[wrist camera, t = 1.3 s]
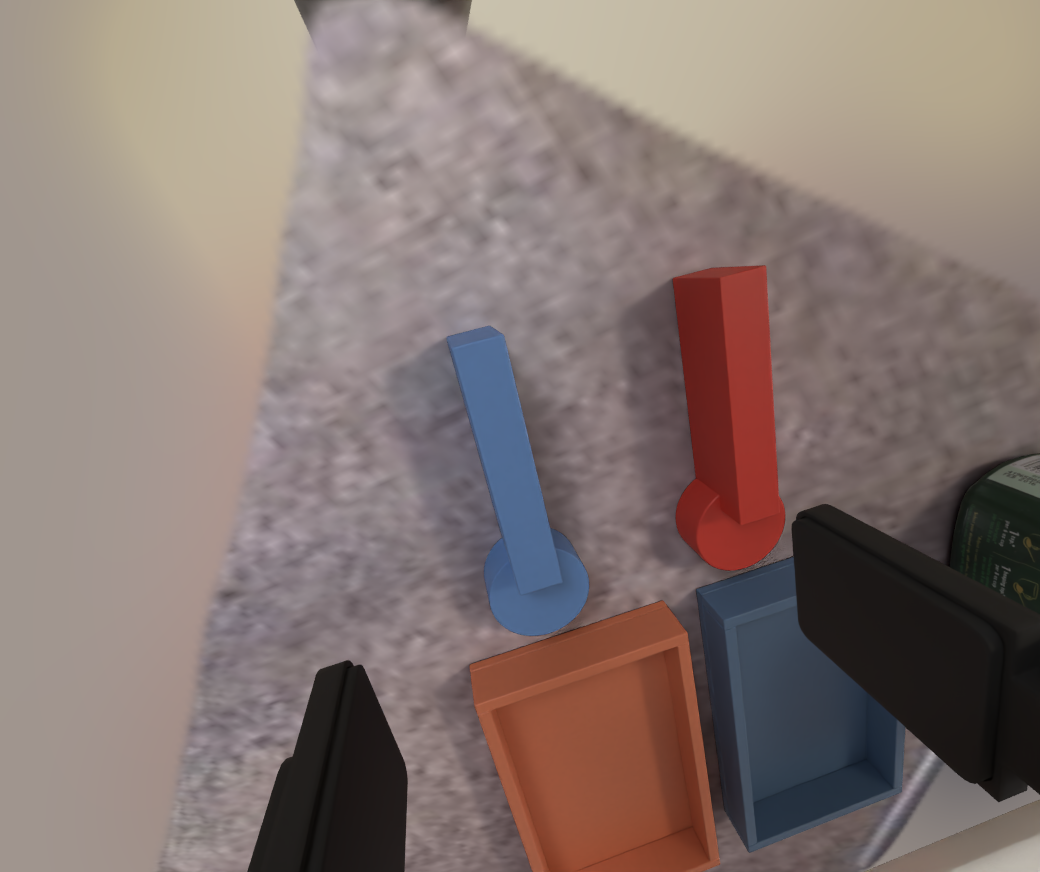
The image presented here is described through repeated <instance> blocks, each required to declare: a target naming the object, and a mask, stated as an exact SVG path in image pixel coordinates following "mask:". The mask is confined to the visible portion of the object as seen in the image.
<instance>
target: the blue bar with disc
mask: <svg viewBox="0 0 1040 872" xmlns="http://www.w3.org/2000/svg"><path fill="white" fill-rule="evenodd" d="M446 339H447V343H448V346H449V350H450V353H451V357H452V360H453V364H454V368H455V371H456V375H457V378H458V382H459V385H460V389H461V393H462V396H463V400H464V403H465V407H466V410H467V414H468V418H469V421H470V425H471V428H472V432H473V435H474V439H475V443H476V446H477V450H478V453H479V457H480V460H481V464H482V467H483V471H484V475H485V478H486V482H487V485H488V489H489V492H490V496H491V500H492V503H493V507H494V510H495V514H496V517H497V521H498V525H499V528H500V532H501V535H502V538H501V539H500V540H499V541H498V542H497V543H496V544H495V545H494V546H493V548H492V549H491V551H490V552H489V554H488V556H487V559H486V562H485V566H484V579H485V584H486V588H487V593H488V598H489V603H490V607H491V610H492V613H493V615H494V617H495V618H496V619H497V621H498V622H499V623H500V624H501V625H502V626H503V627H505V628H506V629H508V630H510V631H512V632H514V633H517V634H520V635H526V636H539V635H545V634H548V633H552V632H554V631H557V630H559V629H561V628H562V627H564V626H566V625H567V624H568V623H570V622H571V621H572V620H573V619H574V618H575V617H576V616H577V615H578V614H579V612H580V611H581V610H582V608H583V606H584V604H585V602H586V600H587V596H588V592H589V578H588V574H587V571H586V569H585V567H584V565H583V564H582V562H581V560H580V558H579V556H578V555H577V553H576V551H575V549H574V548H573V546H572V544H571V543H570V541H569V540H568V539H567V538H566V537H565V536H564V535H563V534H561V533H560V532H558V531H556V530H554V529H552V528H550V525H549V521H548V517H547V513H546V509H545V504H544V500H543V496H542V492H541V488H540V484H539V479H538V475H537V471H536V467H535V463H534V459H533V454H532V450H531V446H530V442H529V438H528V434H527V429H526V425H525V421H524V417H523V413H522V409H521V404H520V400H519V396H518V392H517V388H516V383H515V379H514V375H513V371H512V367H511V363H510V358H509V354H508V350H507V346H506V342H505V338H504V335H503V334H502V333H500V332H499V331H497V330H496V329H494V328H493V327H491V326H486V327H482V328H478V329H474V330H471V331H467V332H463V333H459V334H455V335H451V336H448V337H447V338H446Z"/></svg>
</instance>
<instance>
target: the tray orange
mask: <svg viewBox="0 0 1040 872" xmlns="http://www.w3.org/2000/svg"><path fill="white" fill-rule="evenodd" d="M688 642H689V640H688V633H687V632H686V630H685V629H684V628H683V626H682V625H681V624H680V622H679V621H678V620H677V618H676V617H675V616H674V614H673V613H672V612H671V610H670V609H669V608H668V607H667V605H666V604H665V602H664V601H660V602H657V603H654V604H651V605H648V606H645V607H642V608H639V609H636V610H633V611H630V612H627V613H624V614H621V615H618V616H615V617H612V618H609V619H606V620H603V621H599V622H596V623H593V624H590V625H587V626H584V627H581V628H578V629H575V630H572V631H569V632H566V633H563V634H560V635H557V636H554V637H551V638H548V639H545V640H542V641H539V642H536V643H533V644H530V645H527V646H524V647H521V648H518V649H515V650H512V651H509V652H506V653H503V654H500V655H497V656H494V657H491V658H488V659H485V660H482V661H479V662H476V663H473V664H470V673H471V682H472V690H473V698H474V706H475V709H476V712H477V714H478V718H479V720H480V723H481V726H482V729H483V732H484V735H485V737H486V740H487V743H488V746H489V749H490V752H491V755H492V757H493V760H494V763H495V766H496V769H497V772H498V775H499V777H500V780H501V783H502V786H503V789H504V792H505V795H506V797H507V800H508V803H509V806H510V809H511V812H512V814H513V817H514V820H515V823H516V826H517V829H518V832H519V834H520V837H521V840H522V843H523V846H524V849H525V852H526V854H527V857H528V860H529V863H530V866H531V869H532V871H533V872H702V871H705V870H707V869H710V868H712V867H715V866H717V865H720V860H719V853H718V846H717V838H716V831H715V824H714V817H713V810H712V803H711V796H710V789H709V782H708V775H707V768H706V761H705V753H704V746H703V739H702V732H701V725H700V718H699V711H698V704H697V697H696V690H695V683H694V676H693V668H692V661H691V654H690V647H689V643H688Z"/></svg>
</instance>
